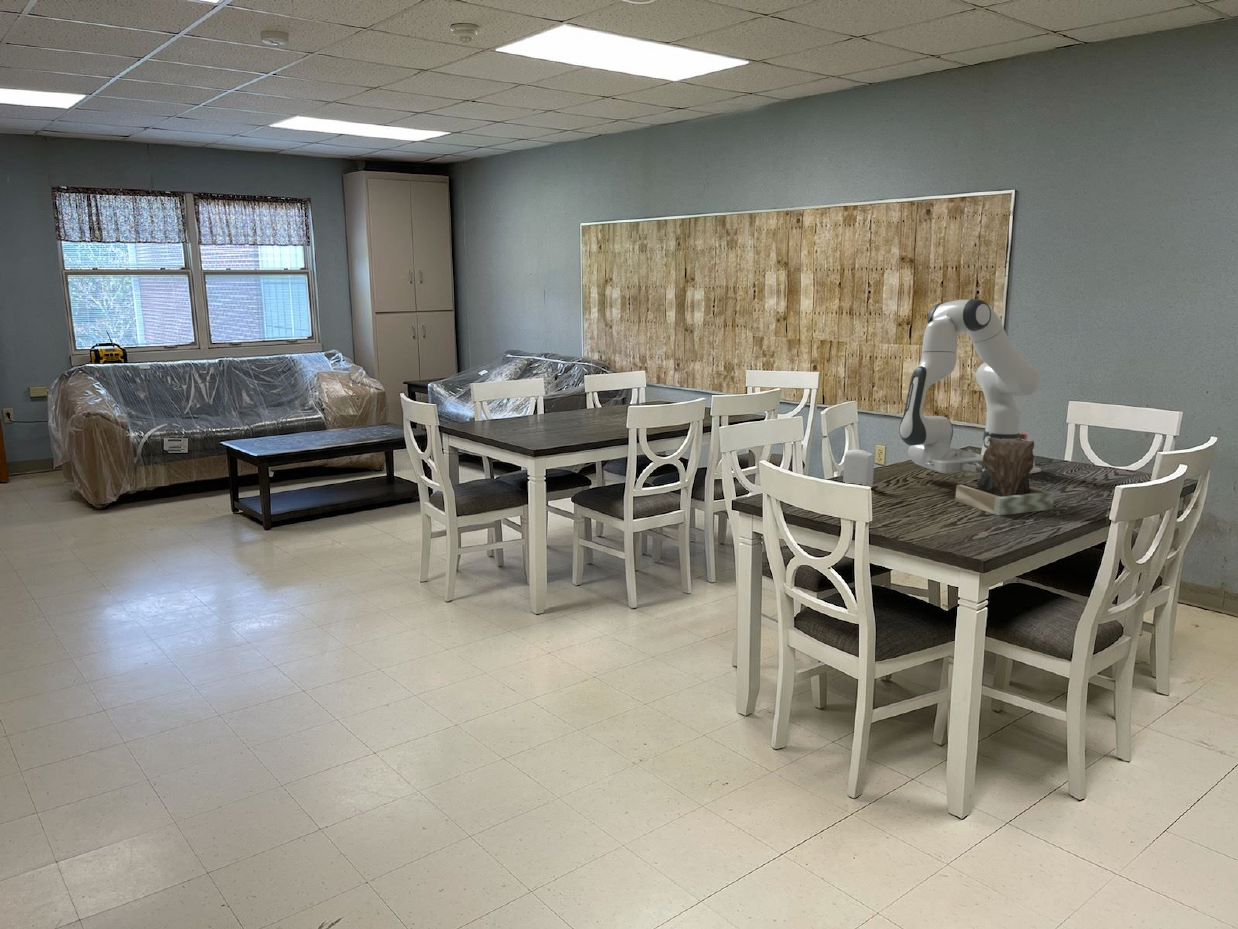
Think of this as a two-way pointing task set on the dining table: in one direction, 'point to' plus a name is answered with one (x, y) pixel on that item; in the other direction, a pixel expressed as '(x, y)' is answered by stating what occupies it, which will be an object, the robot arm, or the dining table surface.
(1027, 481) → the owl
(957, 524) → the dining table surface
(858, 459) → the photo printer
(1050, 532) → the dining table surface
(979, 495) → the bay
